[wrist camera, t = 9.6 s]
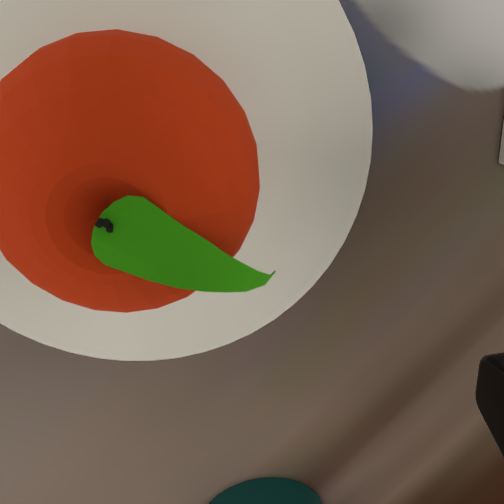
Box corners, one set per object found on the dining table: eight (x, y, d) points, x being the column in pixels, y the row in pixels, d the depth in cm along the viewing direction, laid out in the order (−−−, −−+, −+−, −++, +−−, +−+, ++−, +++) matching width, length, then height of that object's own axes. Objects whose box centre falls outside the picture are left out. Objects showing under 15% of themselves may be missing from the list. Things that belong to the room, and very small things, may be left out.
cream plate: (362, -157, 14) (374, -171, 13) (363, 313, 20) (371, 326, 19) (-227, -106, 12) (-260, -118, 12) (-18, 374, 19) (-29, 391, 18)
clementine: (310, 129, 16) (396, 192, 9) (205, 290, 18) (217, 432, 11) (83, -21, 13) (-13, -78, 7) (-11, 185, 15) (-153, 294, 9)
